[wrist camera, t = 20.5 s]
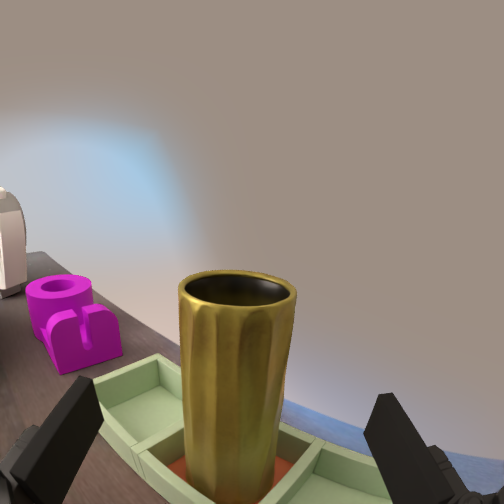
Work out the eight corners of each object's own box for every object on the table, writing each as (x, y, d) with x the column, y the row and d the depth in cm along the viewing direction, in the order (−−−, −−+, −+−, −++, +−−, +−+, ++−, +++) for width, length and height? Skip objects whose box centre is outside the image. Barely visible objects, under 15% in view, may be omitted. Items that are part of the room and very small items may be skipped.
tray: (413, 501, 12) (435, 473, 12) (363, 600, 5) (390, 588, 4) (161, 382, 27) (158, 352, 26) (85, 416, 20) (75, 385, 19)
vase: (285, 499, 14) (332, 308, 11) (191, 512, 12) (165, 315, 9) (260, 441, 20) (279, 266, 17) (181, 448, 18) (168, 266, 15)
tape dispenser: (28, 321, 34) (21, 281, 32) (83, 308, 41) (79, 271, 40) (54, 376, 24) (40, 324, 23) (128, 353, 31) (122, 305, 30)
